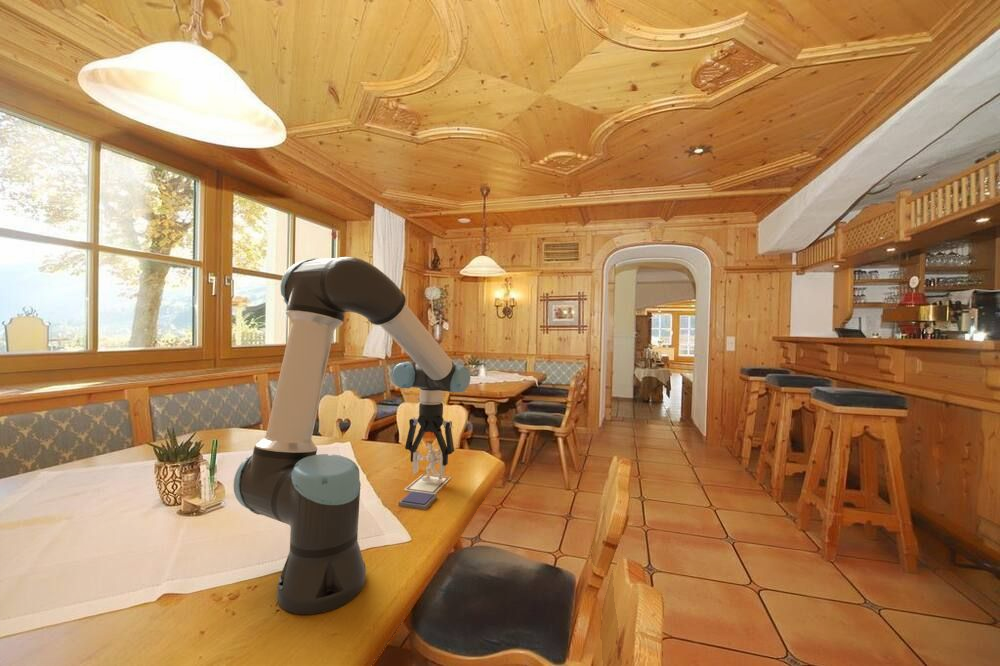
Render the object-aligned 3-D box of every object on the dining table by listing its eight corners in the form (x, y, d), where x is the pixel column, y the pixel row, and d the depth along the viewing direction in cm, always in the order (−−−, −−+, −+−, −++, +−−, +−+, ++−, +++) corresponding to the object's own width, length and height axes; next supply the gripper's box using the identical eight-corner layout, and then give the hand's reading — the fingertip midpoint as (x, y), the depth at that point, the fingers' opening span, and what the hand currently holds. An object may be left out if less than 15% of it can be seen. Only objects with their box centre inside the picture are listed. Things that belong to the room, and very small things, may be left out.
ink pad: (425, 509, 108) (425, 505, 108) (398, 505, 109) (398, 501, 109) (436, 498, 115) (436, 493, 115) (411, 494, 117) (411, 490, 117)
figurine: (441, 485, 123) (444, 446, 123) (412, 482, 123) (415, 444, 123) (444, 479, 128) (447, 442, 127) (416, 476, 128) (419, 439, 128)
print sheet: (434, 494, 118) (434, 493, 118) (403, 490, 120) (403, 489, 120) (450, 478, 131) (450, 477, 131) (422, 474, 133) (422, 473, 133)
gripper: (466, 403, 127) (463, 473, 127) (406, 398, 132) (403, 466, 132) (459, 407, 120) (456, 481, 119) (395, 401, 124) (392, 473, 124)
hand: (428, 473), depth 125 cm, fingers closed on figurine, 8 cm apart
